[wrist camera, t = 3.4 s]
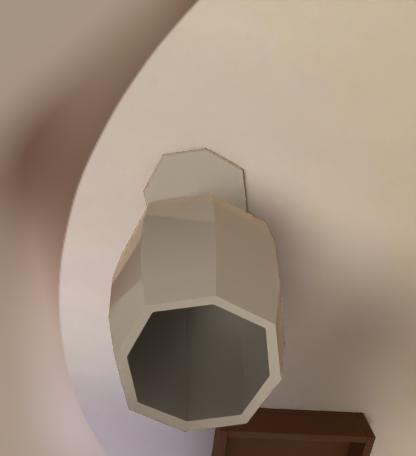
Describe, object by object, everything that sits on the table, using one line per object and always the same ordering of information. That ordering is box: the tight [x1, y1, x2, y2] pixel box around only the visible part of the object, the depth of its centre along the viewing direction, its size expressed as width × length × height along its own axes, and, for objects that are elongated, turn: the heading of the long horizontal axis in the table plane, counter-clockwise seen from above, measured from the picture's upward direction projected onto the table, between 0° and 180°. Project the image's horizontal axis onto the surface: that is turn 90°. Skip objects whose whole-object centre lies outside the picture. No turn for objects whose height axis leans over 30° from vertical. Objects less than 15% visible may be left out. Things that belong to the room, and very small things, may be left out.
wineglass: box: [109, 148, 285, 432], centre depth 23 cm, size 9×9×21 cm
